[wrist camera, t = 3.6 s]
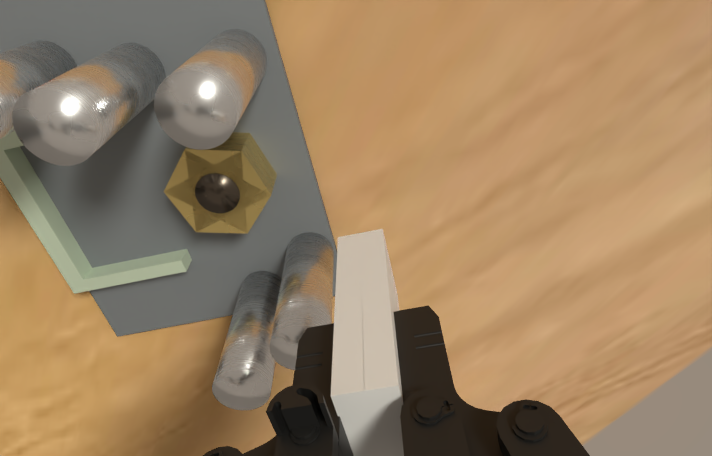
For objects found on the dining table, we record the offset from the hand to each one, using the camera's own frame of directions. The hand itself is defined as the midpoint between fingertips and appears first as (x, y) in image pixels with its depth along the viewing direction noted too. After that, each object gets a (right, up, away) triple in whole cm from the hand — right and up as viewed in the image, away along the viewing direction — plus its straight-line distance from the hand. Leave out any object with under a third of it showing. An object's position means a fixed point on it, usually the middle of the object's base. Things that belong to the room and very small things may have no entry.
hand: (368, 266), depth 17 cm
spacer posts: (-9, +4, +11) cm, 14 cm away
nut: (-7, +4, +10) cm, 13 cm away
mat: (-11, +4, +11) cm, 16 cm away
